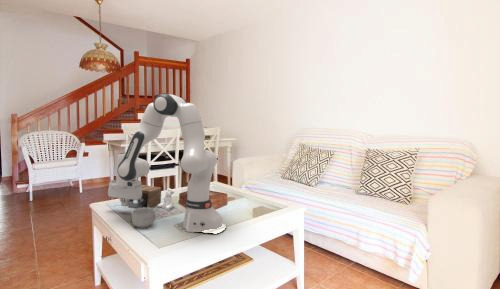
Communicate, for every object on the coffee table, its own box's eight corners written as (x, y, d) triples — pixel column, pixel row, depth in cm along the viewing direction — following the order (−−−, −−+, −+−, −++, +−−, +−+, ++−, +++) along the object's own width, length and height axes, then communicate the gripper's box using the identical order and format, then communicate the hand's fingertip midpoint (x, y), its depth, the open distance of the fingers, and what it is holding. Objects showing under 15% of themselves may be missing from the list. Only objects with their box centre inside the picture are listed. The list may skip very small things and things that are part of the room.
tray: (136, 208, 169) (136, 202, 169) (127, 207, 171) (128, 201, 170) (149, 203, 181) (149, 197, 180) (140, 202, 182) (141, 196, 182)
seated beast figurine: (156, 207, 174) (157, 188, 173) (167, 204, 181) (168, 186, 180) (166, 210, 169) (167, 190, 168) (177, 208, 176) (178, 188, 175)
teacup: (146, 230, 137) (147, 214, 136) (126, 227, 139) (126, 211, 138) (161, 221, 150) (161, 206, 150) (142, 219, 152) (143, 204, 152)
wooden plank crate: (160, 203, 182) (161, 187, 181) (148, 208, 171) (149, 191, 170) (136, 200, 187) (137, 184, 186) (123, 204, 176) (124, 187, 175)
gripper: (105, 180, 159) (105, 205, 159) (136, 184, 153) (136, 209, 154) (113, 178, 165) (113, 202, 166) (144, 182, 159) (143, 206, 160)
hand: (124, 205), depth 160 cm, fingers closed
